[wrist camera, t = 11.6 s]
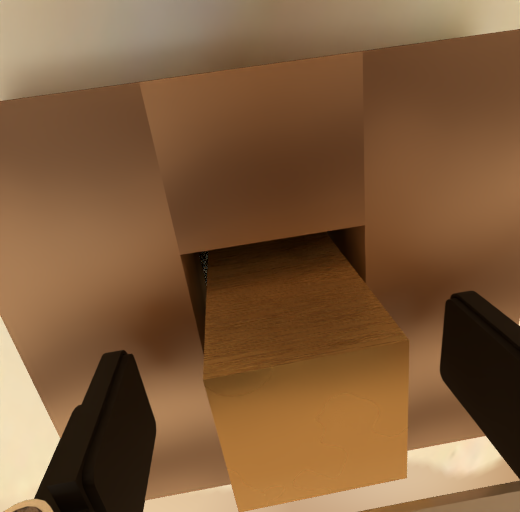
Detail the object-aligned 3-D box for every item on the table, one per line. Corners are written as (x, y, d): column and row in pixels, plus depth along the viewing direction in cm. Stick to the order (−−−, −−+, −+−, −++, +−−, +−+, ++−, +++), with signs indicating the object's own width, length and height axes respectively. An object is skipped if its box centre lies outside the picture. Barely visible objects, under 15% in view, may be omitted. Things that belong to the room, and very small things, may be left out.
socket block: (2, 106, 14) (-98, 114, 10) (465, 42, 15) (574, 21, 10) (121, 417, 21) (95, 509, 16) (438, 360, 22) (498, 433, 17)
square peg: (209, 223, 17) (202, 380, 8) (306, 206, 17) (409, 340, 8) (227, 306, 19) (238, 512, 10) (314, 290, 19) (406, 477, 10)
